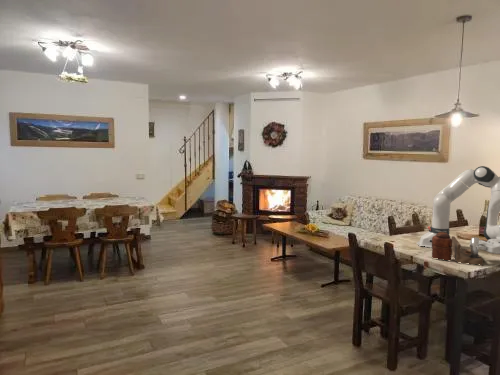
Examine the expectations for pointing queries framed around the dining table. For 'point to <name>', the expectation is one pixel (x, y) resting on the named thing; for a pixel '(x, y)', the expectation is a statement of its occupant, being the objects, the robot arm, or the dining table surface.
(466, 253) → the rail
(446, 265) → the dining table surface
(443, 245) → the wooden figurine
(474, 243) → the peg
